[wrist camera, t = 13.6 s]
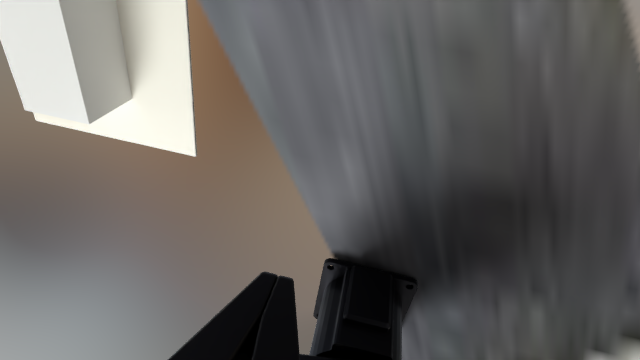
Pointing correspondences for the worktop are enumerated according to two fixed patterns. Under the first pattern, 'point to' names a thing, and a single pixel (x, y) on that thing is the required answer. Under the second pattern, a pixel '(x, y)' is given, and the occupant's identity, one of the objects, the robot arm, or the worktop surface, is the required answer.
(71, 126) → the paper sheet
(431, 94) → the worktop surface
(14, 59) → the milk carton
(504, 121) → the worktop surface
